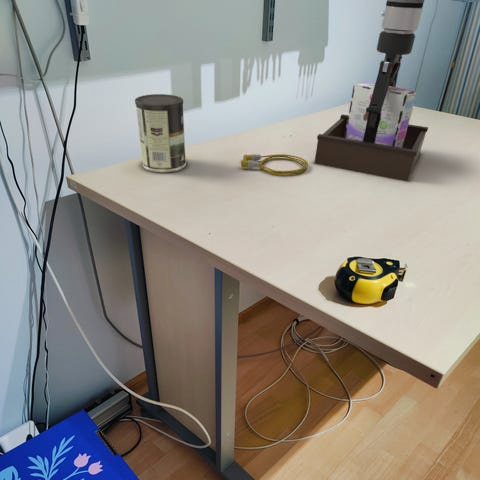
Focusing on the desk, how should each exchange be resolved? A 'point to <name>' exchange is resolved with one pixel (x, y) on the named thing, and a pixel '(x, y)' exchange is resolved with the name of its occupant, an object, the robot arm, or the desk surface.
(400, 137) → the candy box
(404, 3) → the robot arm
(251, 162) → the extension cord
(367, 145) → the square shelf
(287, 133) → the desk surface
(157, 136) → the coffee can
